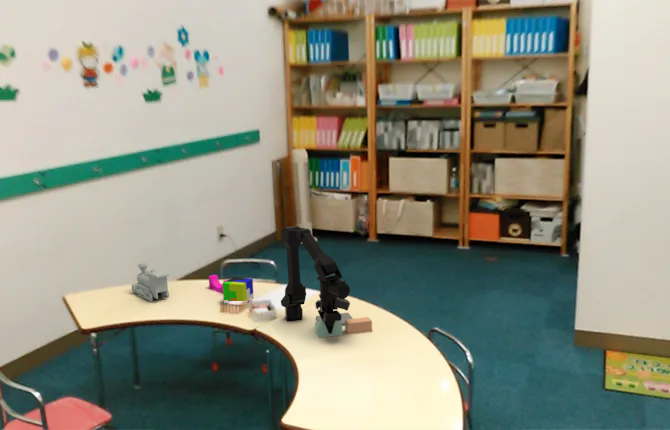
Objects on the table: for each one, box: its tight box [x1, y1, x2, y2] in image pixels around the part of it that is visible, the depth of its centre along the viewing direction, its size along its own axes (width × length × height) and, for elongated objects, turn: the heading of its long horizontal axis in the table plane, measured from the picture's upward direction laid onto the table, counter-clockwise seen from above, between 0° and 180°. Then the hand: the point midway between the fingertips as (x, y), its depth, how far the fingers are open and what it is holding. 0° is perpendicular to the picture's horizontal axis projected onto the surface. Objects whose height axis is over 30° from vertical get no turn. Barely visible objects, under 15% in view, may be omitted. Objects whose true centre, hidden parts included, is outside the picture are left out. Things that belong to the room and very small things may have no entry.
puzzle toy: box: [222, 276, 255, 301], centre depth 286 cm, size 10×10×10 cm
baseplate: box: [315, 312, 354, 327], centre depth 258 cm, size 14×12×1 cm
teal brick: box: [314, 321, 343, 338], centre depth 244 cm, size 10×5×4 cm, turn 104°
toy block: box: [208, 274, 230, 294], centre depth 302 cm, size 15×6×8 cm, turn 45°
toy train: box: [131, 262, 170, 303], centre depth 298 cm, size 11×28×15 cm, turn 41°
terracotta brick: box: [344, 316, 373, 335], centre depth 247 cm, size 10×5×4 cm, turn 104°
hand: (328, 331), depth 244 cm, fingers closed on teal brick, 5 cm apart
